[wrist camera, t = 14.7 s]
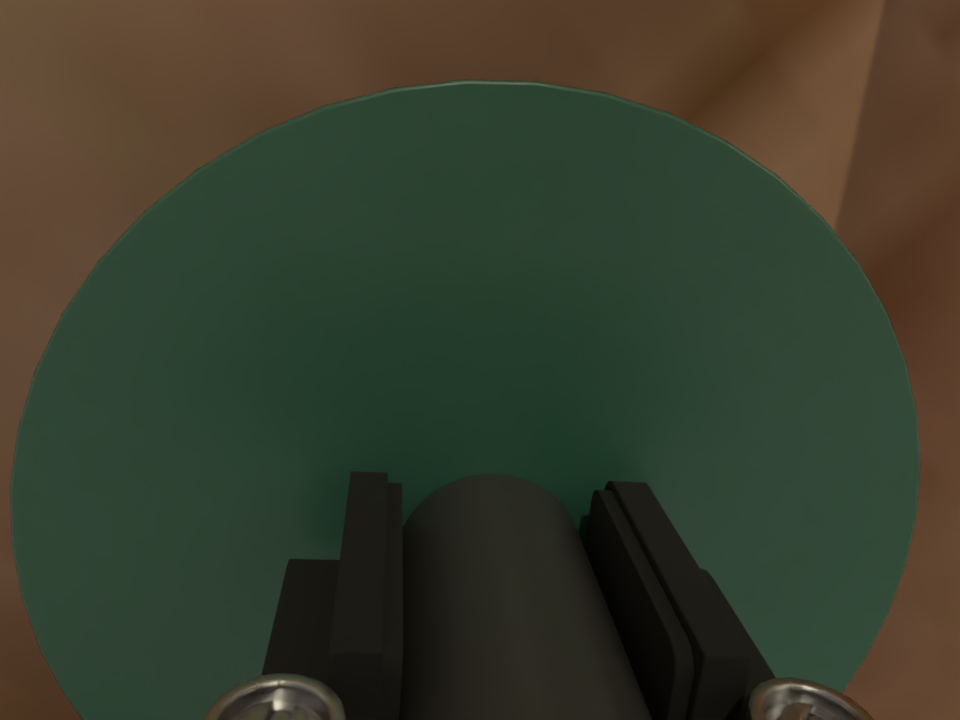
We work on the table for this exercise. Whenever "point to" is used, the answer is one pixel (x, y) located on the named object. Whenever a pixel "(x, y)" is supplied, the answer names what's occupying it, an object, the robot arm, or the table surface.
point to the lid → (462, 404)
